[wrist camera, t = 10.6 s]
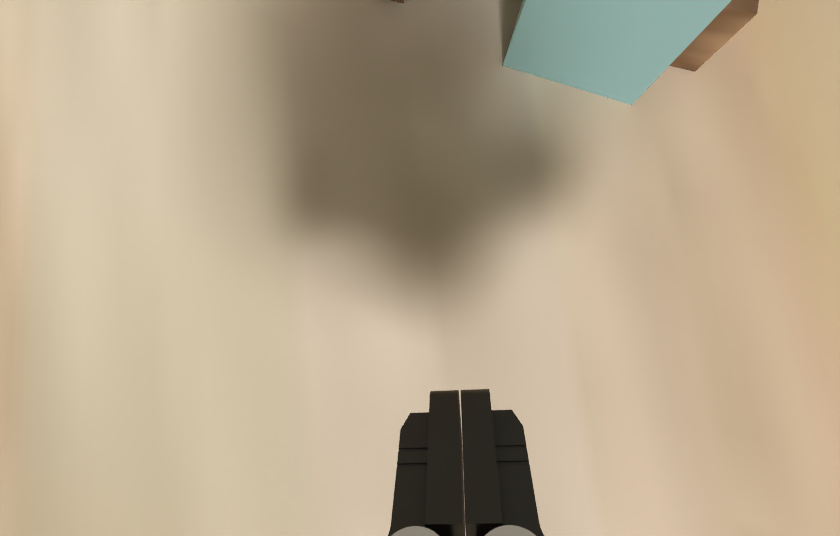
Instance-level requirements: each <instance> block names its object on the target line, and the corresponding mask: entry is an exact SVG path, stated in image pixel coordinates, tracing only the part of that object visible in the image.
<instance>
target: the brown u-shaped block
mask: <svg viewBox="0 0 840 536" xmlns="http://www.w3.org/2000/svg"><path fill="white" fill-rule="evenodd" d="M393 1H397V2H401V3H404V0H393ZM758 2H759V0H731V2H730V3H729V4H728V5H727V6H726V7H725V8H724V9H723V10H722V11H721V12H720V13H719V14H718V15H717V16H716V17H715V18H714V19H713V20H712V21H711V22H710V24H709V25H708V26H707V27H706V28H705V29H704V30H703V31H702V32H701V33H700V34H699V35H698V36H697V37H696V38H695V39H694V40H693V41H692V42H691V43H690V44H689V46H688V47H687V48H686V49H685V50H684V51H683V52H682V53H681V54H680V55H679V56H678V57H677V58H676V59H675V60H674V61H673V62H672V63H671V64H670V66H674V67H678V68H683V69H687V70H691V71H696V70H697V69H698V68H699V67H700V66H701V65H702V64H703V63H705V62H706V61H707V60H708V59H709V58H710V57H711V56H712V55H713V54H714V53H715V52H716V51H717V50H718V49H720V48H721V47H722V46H723V45H724V44H725V43H726V42H727V41H728V40H729V39H730V38H731V37H732V36H733V35H735V34H736V33H737V32H738V31H739V30H740V29H741V28H742V27H743V26H744V25H745V24H746V23H747V22H748V21H750V20H751V19H752V18H753V17H754V16H755V15H756V14H757V9H758Z"/></svg>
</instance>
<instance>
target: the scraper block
mask: <svg viewBox="0 0 840 536" xmlns="http://www.w3.org/2000/svg"><path fill="white" fill-rule="evenodd" d="M730 2H731V0H523V1H522V4H521V7H520V10H519V14H518V17H517V20H516V23H515V27H514V30H513V33H512V36H511V40H510V43H509V46H508V49H507V53H506V56H505V59H504V62H503V66H505V67H509V68H512V69H515V70H519V71H522V72H525V73H528V74H532V75H535V76H538V77H541V78H545V79H548V80H551V81H554V82H558V83H561V84H564V85H567V86H571V87H574V88H577V89H581V90H584V91H587V92H590V93H594V94H597V95H600V96H603V97H607V98H610V99H613V100H616V101H620V102H623V103H626V104H629V105H632V104H633V103H634V102H635V101H636V100H637V99H638V98H639V97H640V96H641V95H642V94H643V93H644V92H645V91H646V90H647V88H648V87H649V86H650V85H651V84H652V83H653V82H654V81H655V80H656V79H657V78H658V77H659V76H660V75H661V74H662V73H663V72H664V71H665V70H666V69H667V68H668V66H669V65H670V64H671V63H672V62H673V61H674V60H675V59H676V58H677V57H678V56H679V55H680V54H681V53H682V52H683V51H684V50H685V49H686V48H687V47H688V46H689V44H690V43H691V42H692V41H693V40H694V39H695V38H696V37H697V36H698V35H699V34H700V33H701V32H702V31H703V30H704V29H705V28H706V27H707V26H708V25H709V24H710V22H711V21H712V20H713V19H714V18H715V17H716V16H717V15H718V14H719V13H720V12H721V11H722V10H723V9H724V8H725V7H726V6H727V5H728V4H729V3H730Z"/></svg>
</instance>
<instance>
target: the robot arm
mask: <svg viewBox="0 0 840 536" xmlns="http://www.w3.org/2000/svg"><path fill="white" fill-rule="evenodd" d="M461 410H462V431H461V417H460V403H459V391H458V390H453V391H431V392H430V407H429V413H410V415H409V416H408V418H407V420H406V421H405V423H404V425H403V426H402V428H401V431H400V441H399V452H398V461H397V471H396V481H395V491H394V500H393V510H392V520H391V527H390V531H389V534H388V536H465V526H466V536H544V535H543V533H542V530H541V528H540V524H539V519H538V513H537V507H536V501H535V495H534V489H533V483H532V477H531V471H530V465H529V459H528V453H527V449H526V441H525V435H524V429H523V425H522V424H521V423H520V421H519V420H518V418H517V417H516V415H515V414H514V412H513V411H512V410H491V402H490V392H489V389H478V390H461ZM462 440H463V450H462ZM463 470H464V480H463ZM464 500H465V510H464Z"/></svg>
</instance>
